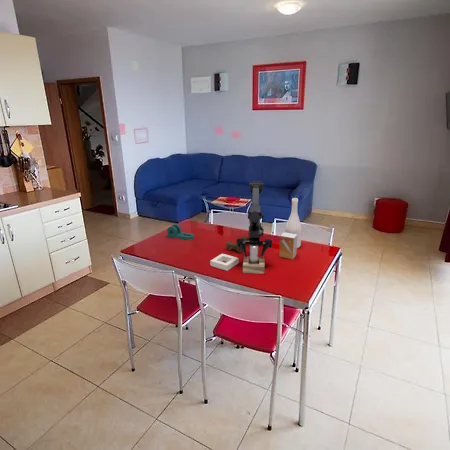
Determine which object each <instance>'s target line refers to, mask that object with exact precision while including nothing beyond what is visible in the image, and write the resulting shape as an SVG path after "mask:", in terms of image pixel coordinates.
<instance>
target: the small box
mask: <svg viewBox="0 0 450 450" xmlns="http://www.w3.org/2000/svg"><path fill="white" fill-rule="evenodd" d="M297 250H298V248H297V234H291V233H285V231H284V232H282V233H281V235H280V237H279V252H278V253H279V255H278V256H279V257H280V258H285V259H289V260H294V258H295V257H296V256H297Z"/></svg>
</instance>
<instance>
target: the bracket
mask: <svg viewBox="0 0 450 450" xmlns="http://www.w3.org/2000/svg"><path fill="white" fill-rule="evenodd" d="M166 232H167V238H169V237H173V238H172V239H176V238H179V239H178V240H183V239H186V240H185V241H192V240H194V239H195V234H194V233H189V232H183V231H182V227H181V226H180V225H179V224H178V223H174V224H172V225H171V226H170V227H168V228H167V229H166ZM191 239H192V240H191Z"/></svg>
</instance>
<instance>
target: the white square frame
mask: <svg viewBox="0 0 450 450" xmlns="http://www.w3.org/2000/svg"><path fill="white" fill-rule="evenodd" d="M209 262H210V263H209V264H210V267H214V268H216V269H220V270H224V271H226V272H228V271H229V270H230V269H232V268H233V267H235V266H236V265H238V264H239V263H240V262H239V257H236V256H232V255H229V254H225V253H221V254H218V256H216V257H214V258H213V259H211V260H210V261H209Z"/></svg>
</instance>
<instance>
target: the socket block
mask: <svg viewBox="0 0 450 450" xmlns="http://www.w3.org/2000/svg"><path fill="white" fill-rule="evenodd" d="M242 274H260V275H261V274H263V275H264V274H265V257H264V256H263V258H262V259H261V256H258V264H250V256H246V258H245V256H243V263H242Z"/></svg>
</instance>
